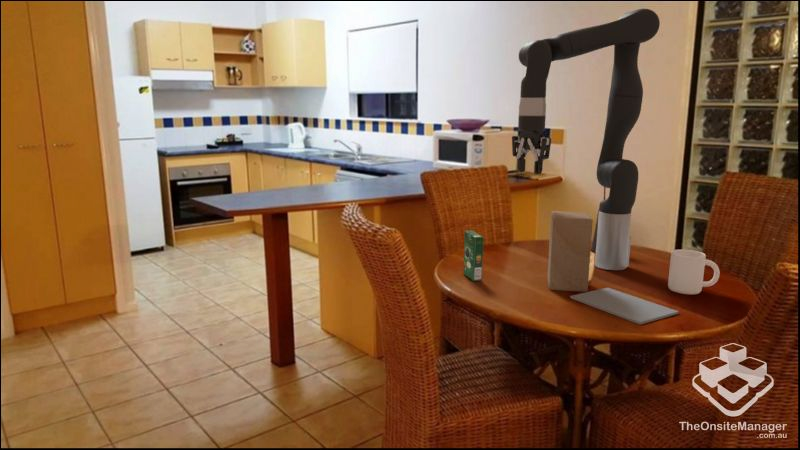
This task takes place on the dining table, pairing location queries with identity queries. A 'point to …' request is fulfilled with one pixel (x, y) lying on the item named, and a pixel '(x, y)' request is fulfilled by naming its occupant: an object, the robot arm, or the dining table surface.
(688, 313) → the dining table surface
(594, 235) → the butter churn
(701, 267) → the mug
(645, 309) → the slate mat
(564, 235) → the wooden block
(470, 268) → the coffee box
